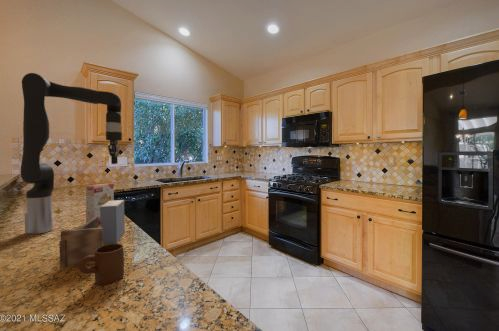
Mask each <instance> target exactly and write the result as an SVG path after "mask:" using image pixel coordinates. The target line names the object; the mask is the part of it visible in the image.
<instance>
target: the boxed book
mask: <svg viewBox="0 0 499 331" xmlns="http://www.w3.org/2000/svg"><path fill="white" fill-rule="evenodd" d="M99 223H100V228H102V227H103V245H109V244H118V242H119V241H120V239H121V238H122V237H123V235H124V234H125V232H126V231H125V230H126V229H125V199H118V200H117V199H114V200H112V201H108V202H107V203H105V204H103V205H102V206H100V222H99Z"/></svg>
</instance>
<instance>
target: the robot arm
mask: <svg viewBox="0 0 499 331" xmlns="http://www.w3.org/2000/svg"><path fill="white" fill-rule="evenodd" d="M21 89H22V95H23V96H22V97H23V123H22V124H23V127H22V135H23V137H22V138H23V143H22V144H23V146H22V158H21V164H20V178H21V180H22V181H23V182H24V183H26V184H34V185H33V186H32V188H31V189H29V190H27V191H26V193H25V195H26V196H25V197H26V198H25V199H26V200H25V202H26V213H24V234H25V235H39V234H44V233H48V232H50V231H53V229H54V227H53V226H54V225H53V224H54V223H53V198H52V197H53V195H52V194H53V191H54V187H55V186H54V185H55V172H54V169H53V167H52V166H51V165H50V164H48V163H40V159H41V158H40V157H41V153H42V151H43V149H44V148H45V146H46V144H47V143H48V141H49V139H50V121H49V116H48V114H47V111H46V105H45V100H46V99H45V98H46V97H49V98H50V97H51V98H61V99H69V100H73V101H76V102H77V101H78V102H83V103H87V104H92V105H93V104H94V105H98V104H100V105H105V106H106V113H105V140H106V141H109V144H108V145H107V149H108V153H109V156H110V157H111V159H110V161H111V164H113V165H115V164H118V157H119V155H120V149H121V147H120V144H119V142H121V141H122V140H123V126H122V114H121V113H122V100H121V98H120V97H121V96H119V95H118V94H117V93H114V92H112V91H111V92H110V91H104V90H96V89H92V88H91V89H90V88H87V87H82V86H81V87H80V86H69V85H63V84H58V83H55V82H52V81H50V80H48V79H46V78H44V76H42V75H40V74H38V73H35V72H29V73H27V74H25V75H24V76H23V77H22V79H21Z"/></svg>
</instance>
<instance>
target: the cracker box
mask: <svg viewBox="0 0 499 331" xmlns="http://www.w3.org/2000/svg"><path fill="white" fill-rule="evenodd" d="M114 185H115V184H114V183H108V182H107V183H100V184H99V183H97V184H92V185H86V186H85V216H86V217H85V219H86V220H85V223H87V222H88V221H89V220H91V219H92V218H94V217H98V224H99V223H100V206H102V205H103V204H105V203H107V202H108V201H112V200H115V199H114V198H115V197H114V196H115V195H114V194H115V191H114V190H115V188H114Z"/></svg>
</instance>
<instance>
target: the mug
mask: <svg viewBox="0 0 499 331" xmlns="http://www.w3.org/2000/svg"><path fill="white" fill-rule="evenodd" d="M124 254H125V252H124V246H123V244H121V243H112V244H103V246H101V247H99V248H97V249H96V250H95V256H91V255H89V256H86V257H84V258H83V259H81V261H80V262H79V264H78V265H77V267H78V268H77V269H78V271H79V272H80V273H82V274H84V275H86V274H87V275H88V274H94V281H95V283H96V284H98V285H109V284H112V283H116V282H118V281H120V279H122V278H123V277H124V275H125V256H124ZM87 261H95V263H94V265H92V266H86V264H85V263H86V262H87Z"/></svg>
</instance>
